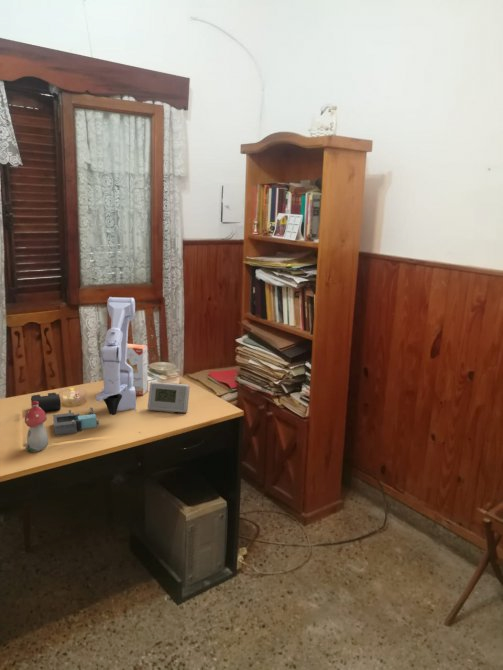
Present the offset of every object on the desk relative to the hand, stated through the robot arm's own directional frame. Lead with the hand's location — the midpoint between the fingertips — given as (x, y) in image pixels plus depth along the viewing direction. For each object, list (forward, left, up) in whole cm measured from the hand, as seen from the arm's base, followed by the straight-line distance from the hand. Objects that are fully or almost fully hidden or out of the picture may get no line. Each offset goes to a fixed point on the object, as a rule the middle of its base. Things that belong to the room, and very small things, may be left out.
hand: (112, 414), depth 189 cm
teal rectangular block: (+9, 0, -5) cm, 10 cm away
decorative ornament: (+26, +10, -5) cm, 28 cm away
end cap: (+22, -20, -5) cm, 30 cm away
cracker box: (-12, -32, -5) cm, 35 cm away
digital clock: (-23, -8, -5) cm, 25 cm away
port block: (+16, 0, -4) cm, 17 cm away
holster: (+10, -10, -4) cm, 15 cm away
